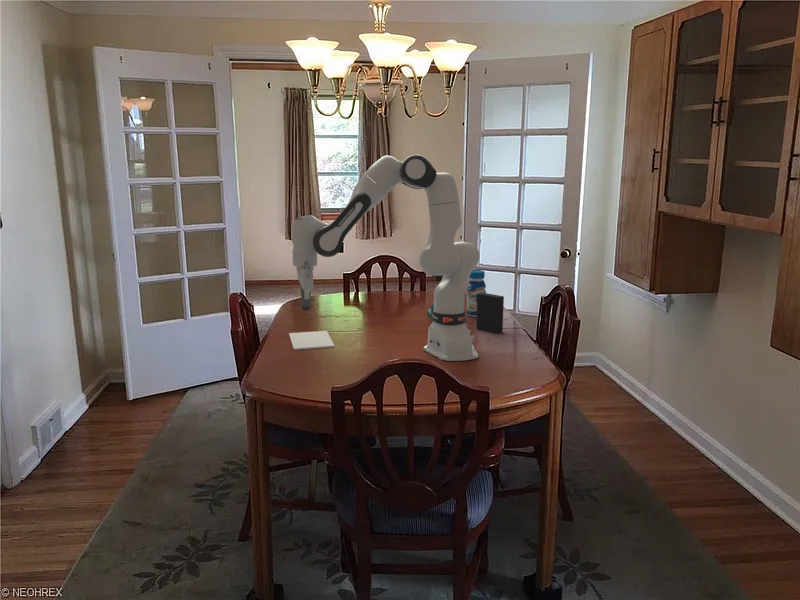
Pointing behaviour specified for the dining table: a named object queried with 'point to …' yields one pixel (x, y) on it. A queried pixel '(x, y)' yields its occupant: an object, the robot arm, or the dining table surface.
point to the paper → (311, 340)
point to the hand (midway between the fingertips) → (306, 297)
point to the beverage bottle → (474, 290)
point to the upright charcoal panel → (490, 312)
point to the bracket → (431, 311)
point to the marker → (305, 301)
